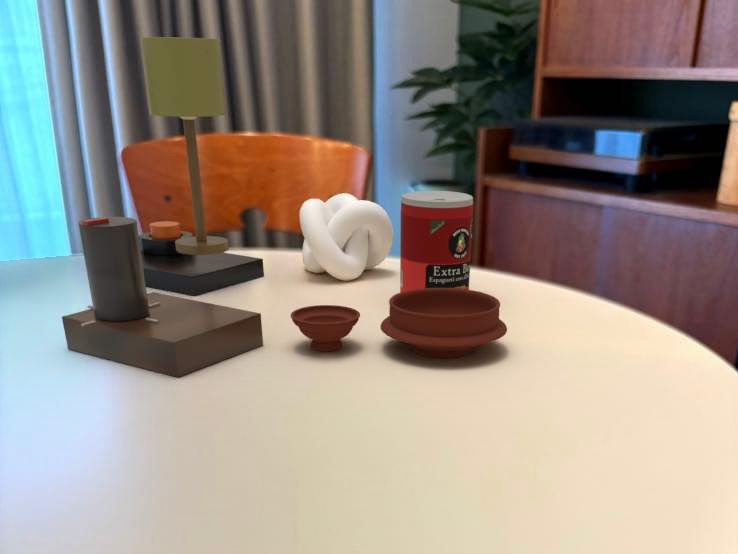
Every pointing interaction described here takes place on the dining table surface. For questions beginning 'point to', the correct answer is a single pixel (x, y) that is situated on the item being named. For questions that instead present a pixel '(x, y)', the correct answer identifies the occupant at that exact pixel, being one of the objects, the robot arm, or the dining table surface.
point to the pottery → (414, 321)
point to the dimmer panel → (167, 335)
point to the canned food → (435, 240)
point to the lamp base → (193, 267)
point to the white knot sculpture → (344, 235)
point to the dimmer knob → (114, 268)
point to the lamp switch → (165, 229)
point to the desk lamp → (187, 110)
